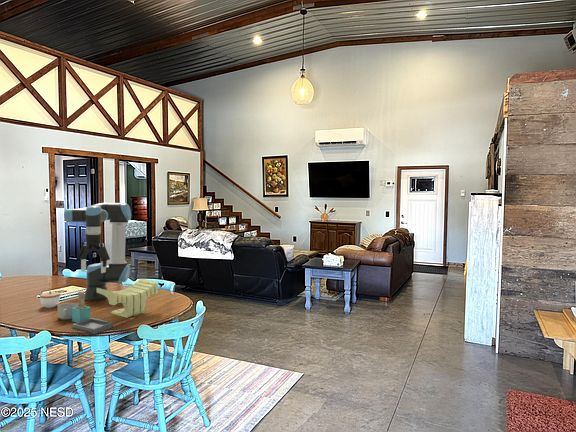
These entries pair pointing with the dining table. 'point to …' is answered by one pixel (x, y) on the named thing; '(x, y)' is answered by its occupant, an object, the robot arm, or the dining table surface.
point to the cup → (80, 314)
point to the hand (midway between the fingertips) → (93, 271)
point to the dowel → (81, 300)
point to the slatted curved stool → (131, 297)
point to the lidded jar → (50, 299)
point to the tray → (93, 325)
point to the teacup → (66, 310)
